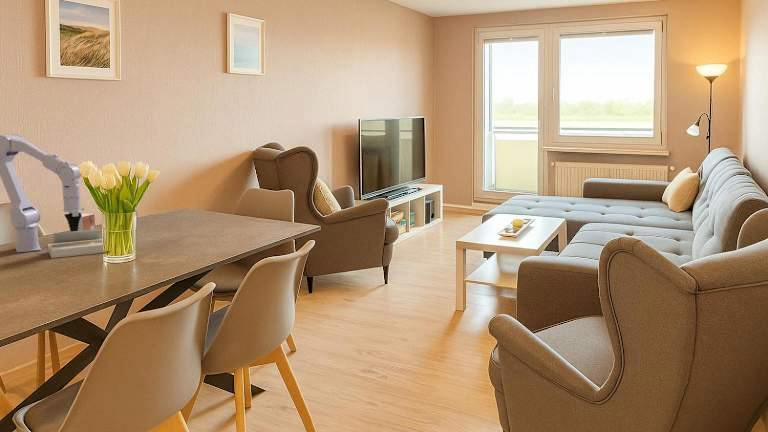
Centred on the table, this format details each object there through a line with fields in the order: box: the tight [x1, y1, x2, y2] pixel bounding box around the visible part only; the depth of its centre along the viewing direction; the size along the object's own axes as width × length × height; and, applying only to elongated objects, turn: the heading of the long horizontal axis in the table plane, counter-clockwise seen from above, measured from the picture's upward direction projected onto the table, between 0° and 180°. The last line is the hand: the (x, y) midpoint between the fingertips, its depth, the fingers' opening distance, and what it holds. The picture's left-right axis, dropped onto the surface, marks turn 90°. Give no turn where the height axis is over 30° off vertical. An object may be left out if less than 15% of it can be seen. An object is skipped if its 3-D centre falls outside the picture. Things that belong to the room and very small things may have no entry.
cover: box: [52, 228, 101, 244], centre depth 243 cm, size 17×6×1 cm
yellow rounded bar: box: [68, 242, 94, 246], centre depth 243 cm, size 9×3×3 cm, turn 123°
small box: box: [76, 213, 96, 242], centre depth 262 cm, size 8×6×10 cm
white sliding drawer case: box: [47, 238, 104, 259], centre depth 242 cm, size 20×11×3 cm, turn 123°
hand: (74, 232), depth 242 cm, fingers closed
